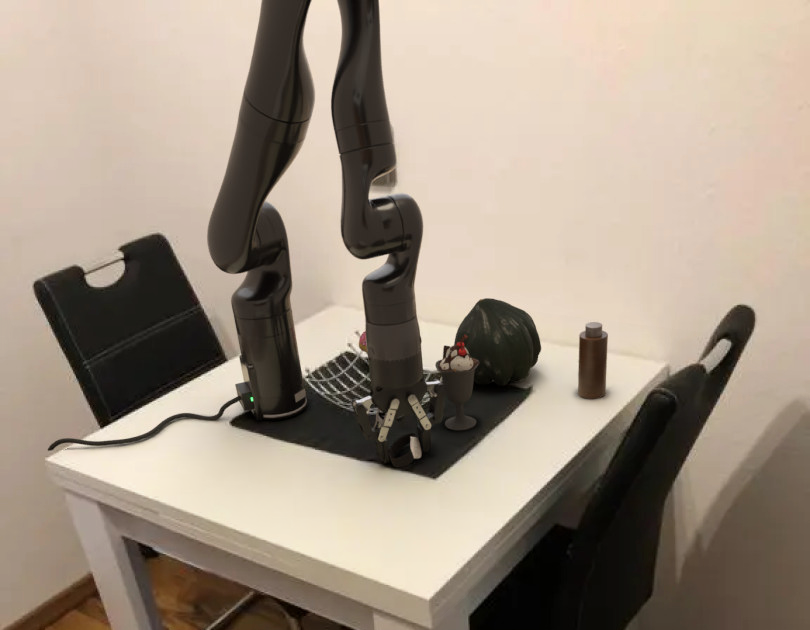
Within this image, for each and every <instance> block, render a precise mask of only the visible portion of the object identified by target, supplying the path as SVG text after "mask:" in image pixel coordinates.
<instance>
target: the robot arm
mask: <svg viewBox="0 0 810 630" xmlns="http://www.w3.org/2000/svg"><path fill="white" fill-rule="evenodd" d="M336 2H337V6H338V10H339V16H340V23H341V24H340V25H341V36H340V37H341V38H340V50H339V54H338V60H337V65H336V68H335V73H334V79H333V83H332V87H331V96H330V113H331V114H330V115H331V122H332V127H333V133H334V136H335V142H336V147H337V151H338V158H339V161H340V168H341V206H340V218H339V219H340V220H339V221H340V222H339V223H340V224H339V225H340V227H339V228H340V236H341V239H342V243H343V245H344V247H345V249H346V250H347V251H348V253H349V254H350V255H351V256H352V257H354V258H355V259H358V260H362V261H363V260H369V259H374V258H378V257H382V256H386V255H387V257H386V261H385V262H384V264H382V265H381V266H380V267H379V268H377V269H375V270H373V271H371V272H370V273H368V274H367V275H366V276H364V277H363V280H362V283H361V293H362V302H363V303H362V304H363V313H364V321H365V327H364V328H365V329H364V332H365V336H366V346H367V353H366V355H367V354H368V355H367V361H368V363H367V364H368V370H369V379H370V391H369V393H368V395H367V396H365V397H363V398H360V399H359V398H356V397H355V398H353V399H352V400H351V401H350V404H351V407H352V410H353V413H354V416H355V419H356V422H357V425H358V428H359V431H360V433H361V435H362V436H363V437H364V438H365V440H366V441H368V442H370V441H371V442H372V441H374V444H375V451H376V456H377V457H378V458H379V459H380V460H381V461H383V463H384V464H387V463H390V462H391V459H390V457H389V449H390V447H389V440H388V439H387V436H388V433H389V431H390V428H391V427H392V425H393V422H394V420H395V419H399V418H400V417H402V416H411V415H413V417H414V418H415V420H416V422H417V423H418V425H417V426H416V427H417V428H416V431H417V438H418V440H419V442H420V446H421V452H422V453H424V454H425V453H429V452H430V450H429V448H431V447H432V444H433V443H432V442H433V441H432V430H431V429H432V426H434V425H435V424H440V423H441V422H442V421H443V416H444V407H445V398H446V393H445V390H446V387H445V385H444V384H443V381H441V380H440V379H438V378H433V379H432V380H431V381H425V379H424V364H423V352H422V335H421V329H420V325H419V324H420V323H419V320H418V314H417V299H416V290H415V282H416V276H417V271H418V264H419V258H420V253H421V248H422V243H423V236H424V218H423V214H422V210H421V208H420V206H419V205H418V202H417V201H416V200H415V198H413V196H411V195H410V194H408V193H404V192H397V193H391V194H387V195H382V196H378V197H374V198H370V191H371V187H372V184H373V182H374V181H375V180H378V178H381V177H384V176H385V175H388V174H389V173H391V172H393V171H394V170H395V168H396V167H397V164H398V161H397V160H398V159H397V152H396V146H395V141H394V135H393V129H392V124H391V119H390V114H389V108H388V103H387V97H386V91H385V89H386V88H385V82H384V74H383V64H382V62H383V61H382V59H383V58H382V41H381V16H380V11H381V10H380V0H336ZM311 3H312V0H261V2H260V11H259V16H258V23H257V29H256V33H255V39H254V45H253V49H252V55H251V59H250V63H249V69H248V74H247V77H246V81H245V84H244V88H243V92H242V97H241V100H240V101H241V102H240V106H239V111H238V116H237V122H236V127H235V132H234V136H233V140H232V145H231V147H230V152H229V157H228V161H227V164H226V168H225V173H224V176H223V179H222V182H221V185H220V188H219V191H218V194H217V196H216V200H215V203H214V204H213V208H212V210H211V214H210V216H209V220H208V224H207V230H206V231H207V233H206V240H207V241H206V243H207V248H208V253H209V256H210V258H211V260H212V262H213V263H214V265H215V266H216V268H217V269H219V270H220V271H222V272H224V273H226V274H230V275H238V274H244V273H246V275H245V276H244V278H243V280H242V282H241V283H240V284H239V286H238V287H237V288H236V289H235V290H234V292H233V293H232V295H231V298H230V299H231V300H230V302H231V303H230V304H231V309H232V314H233V320H234V324H235V329H236V335H237V340H238V346H239V350H240V355H239V356H238V357H239V363H240V367H241V368H240V369H241V372H242V378H243V382H238V383H235V384H234V385H235V390H236V395H237V396H235V397H234V398H231V399H230V400H228V401H226V402H225V403H224V404H223V405H221V407H220V409H219V410H218V413H217V414H215V415H209V416H208V415H202V414H197V413H192V412H181V413H177V414H173V415H171V416H169V417H167V418H165V419H164V420H162V421H161V422H160V423H158V424H157V425H156V426H155V427H153V428H152V429H151V430H149V431H147V432H145V433H143V434H139V435H137V436H132V437H127V438H121V439H109V440H98V441H97V440H96V441H95V440H85V439H79V438H72V437H65V438H59V439H57V440H55V441H54V442H52V443H51V444H50V445H49V446H48V448H47V452H48V451H49V452H50V451H53V450H55V449H56V448H57V447H58V446H60V445H63V444H77V445H84V446H90V447H104V446H115V445H124V444H129V443H135V442H139V441H143V440H145V439H147V438H149V437H151V436H153V435H154V434H156V433H157V432H159V431H160V430H161V429H163V428H164V427H165V426H166V425H167V424H169V423H171V422H173V421H176V420H178V419H183V418H189V419H190V418H191V419H195V420H200V421H209V422H210V421H217V420H219V419H221V418H222V416H223V415H224V413H225V410H227V409H228V408H229V407H231V406H232V405H234V404H236V403H239V404H240V406H241V407H242V409H243V411H244V412H248V411H251V414H252V415H253V416H254V418H255V420H256V421H257V422H260V421H278V420H284V419H288V418H292V417H295V416H297V415H299V414H301V413H302V412H303V411H305V410H306V409H307V407H308V400H307V399H308V398H307V394H306V388H305V385H304V378H303V371H302V366H301V359H300V354H299V347H298V340H297V334H296V328H295V321H294V320H295V319H294V315H293V314H294V313H293V309H292V301H291V295H292V291H293V273H292V265H291V255H290V244H289V238H288V233H287V229H286V225H285V222H284V220H283V218H282V217H283V216H282V215H281V213H280V212H279V210H278V209H277V208H276V207H275V206H274V204H272V203H270V202H269V201H268V200H267V198H268V196H269V195H270V194H271V192H272V190H273V189H274V188H275V186H276V185H277V184H278V182H279V181H280V180H281V179H282V178H283V176H284V175H285V173H286V172H287V171H288V170H289V168H291V165H292V164H293V162H294V161H295V159H296V158H297V156H298V155H299V153H300V151H301V149H302V148H303V145H304V143H305V140H306V137H307V133H308V130H309V127H310V123H311V120H312V116H313V113H314V109H315V104H316V88H315V83H314V77H313V73H312V70H311V67H310V63H309V60H308V57H307V53H306V50H305V44H304V36H305V35H304V34H305V28H306V23H307V18H308V14H309V10H310V6H311ZM426 393H427V394H428V395H429V403H428V413H426V412H425V410H424V409H423V407H422V405H421V402H422V401H423V400H424V399H423V398H424V397H425V395H426ZM372 405H374V406H375V407H376V408H377V410H376V413H375V423H374V425H373V427H372V426H371V425H372V424H371V422H370V418H369V416H368V415H369V414H370V412H371V406H372Z"/></svg>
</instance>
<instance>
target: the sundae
mask: <svg viewBox="0 0 810 630" xmlns="http://www.w3.org/2000/svg"><path fill="white" fill-rule="evenodd" d="M464 337H465V339H466V338H467V336H466V335H464ZM464 337H463V338H464ZM463 338H462V339H463ZM462 339H461V341H462V342H461V341H460V342H458V343H457V345H454V344H453V345H451V346H450V345H443V349H442V359H438V360H437V361H436V362H435V364H434V365H435V368H436V370H437V372H439V373H440V376H441V380H442V383H443V384H444V385H445V387H446V390H445V397H446V399H447V400H448V401H449V402H451V403H453V404H454V405H455V411H456V412H455V415H454V416H452V417H449V418H447V419H446V420H445V422H444V426H445V428H447V429H449V430H452V431H457V432H459V431H467V430H470V429H472V428H474V427H475V426H476V425H477V420H476V419H475V418H474V417H473V416H469V415H466V414H465V412H464V404H465V403H467V402H468V401H469V400H470V399H471V398H472V395H473V390H474V389H473V388H474V372H475V369H476V367H477V366H478V365H479V364H480V362H479V361H478V360H476V359H474V358H472V357H470V355H469V353H468V351H467V349H466V348H465V347H464V343H463V340H465V339H463V340H462Z"/></svg>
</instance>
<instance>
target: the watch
mask: <svg viewBox="0 0 810 630" xmlns="http://www.w3.org/2000/svg"><path fill="white" fill-rule="evenodd" d="M407 445H410V447H409V448H410V449H409V451H408V452H407V453H406V454H403V455H402V456H399V457H396V456H397V454H398V452H399V451H400V450H401V449H402V448H404V447H406V446H407ZM389 457H390V462H391V465H392V466H393V467H395V468H403V467H406V466H408V465H409V464H411V463H412V462H413V461H414V460H419V459H421V458H422V450H421V446H420V442H419V440H418V434H417V433H415V432H409V433H406V434H403V435H402V436H400V437H399V438H397V439H396V440H395V441H394V442H393V443H392V444H391V445H390V447H389Z"/></svg>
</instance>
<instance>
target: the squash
mask: <svg viewBox="0 0 810 630" xmlns="http://www.w3.org/2000/svg"><path fill="white" fill-rule="evenodd" d="M464 335H466V336H467V338H466V339H465V337H464ZM463 337H464V338H463ZM462 338H463V339H465V340H463V339H462ZM461 339H462V340H463V343H464V347H465V348H466V349H467V351H468V353H469V355H470V357H472V358H474V359H476V360H478V361H479V362H480V364H479V365H478V366H477V367H476V369H475V372H474V380H473V382H475V383H476V384H478V385H483V386H484V385H489V384H491V383H494V384H495V385H497V386H502V387H504V386H506V385H508V384H509V382H510V381H511V382H514V383H518V382H522V381H523V380H525V379H526V378H527V377H528V376H529V373H530V372H531V369H532V368H534V367H535V366H536V364H537V362H538V360H539V355H540V353H541V352H542V344H541V343H542V342H541V339H540V335H539V332H538V329H537V326H536V324H535V321H534V320H533V318H532V316H531V315H530V314H529V313H528V312H527V311H525V310H524V309H521V308H520V307H517V306H514V305H513V304H511V303H508V302H506V301H503V300H500V299H495V298H489V297H488V298H486V297H485V298H481V299H479V300H478V301H477V302H476V303H475V304H474V306H472V308H471V309H470V311H469V312H468V314H467V315H466V316H464V318H463V320H462V321H461V322H460V324H459V326H458V328H457V331H456V333H455V337H454V343H453V346H454V345H457V343H458V342H460V341H461ZM461 342H462V341H461Z"/></svg>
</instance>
